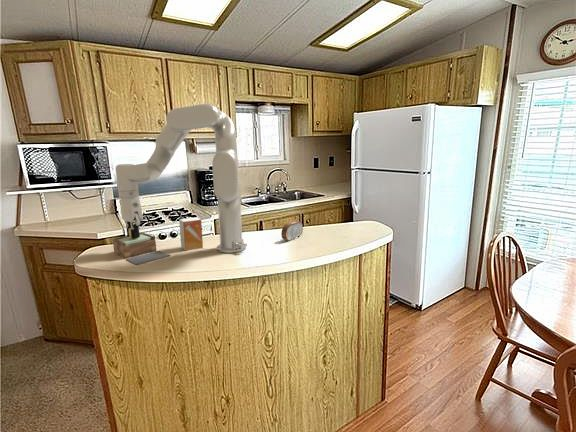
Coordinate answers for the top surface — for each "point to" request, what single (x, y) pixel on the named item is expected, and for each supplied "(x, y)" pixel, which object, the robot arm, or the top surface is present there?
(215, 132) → the robot arm
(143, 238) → the lid
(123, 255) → the box
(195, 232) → the small box
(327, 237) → the top surface
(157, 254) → the mat
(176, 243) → the top surface
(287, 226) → the bread slice
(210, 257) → the top surface
